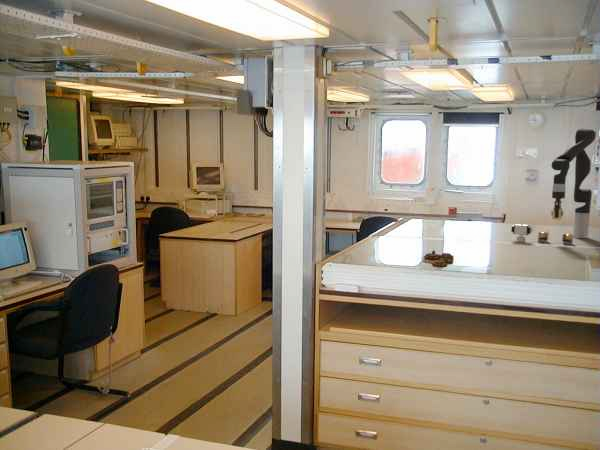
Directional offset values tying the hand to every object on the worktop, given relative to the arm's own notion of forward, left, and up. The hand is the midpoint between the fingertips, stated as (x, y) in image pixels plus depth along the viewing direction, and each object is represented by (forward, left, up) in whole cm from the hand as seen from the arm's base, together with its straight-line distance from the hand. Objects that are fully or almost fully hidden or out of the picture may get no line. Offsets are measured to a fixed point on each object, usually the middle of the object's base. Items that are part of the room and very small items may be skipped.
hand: (557, 217), depth 391 cm
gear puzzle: (+104, -46, -18) cm, 115 cm away
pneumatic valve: (+6, -20, -17) cm, 27 cm away
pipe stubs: (0, 0, -17) cm, 17 cm away
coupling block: (0, 0, -1) cm, 1 cm away
